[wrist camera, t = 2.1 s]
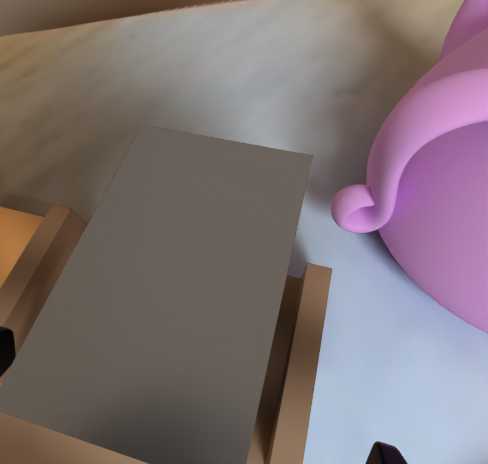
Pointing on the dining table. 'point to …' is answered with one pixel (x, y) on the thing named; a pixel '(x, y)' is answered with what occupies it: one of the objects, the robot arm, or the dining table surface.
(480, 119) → the teapot
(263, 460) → the rail rack
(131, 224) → the tall grey box
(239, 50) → the dining table surface
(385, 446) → the robot arm
